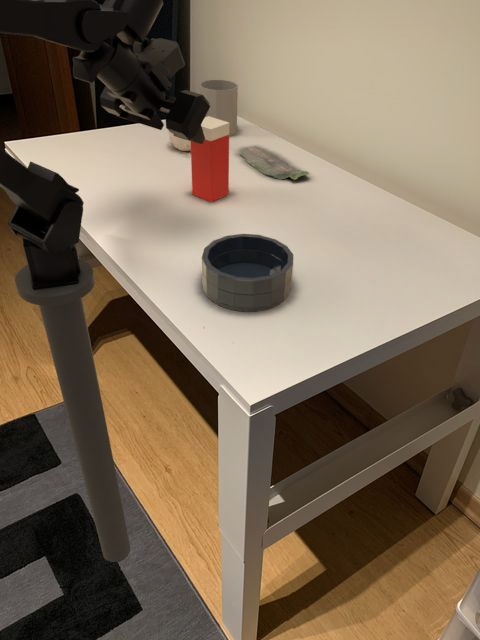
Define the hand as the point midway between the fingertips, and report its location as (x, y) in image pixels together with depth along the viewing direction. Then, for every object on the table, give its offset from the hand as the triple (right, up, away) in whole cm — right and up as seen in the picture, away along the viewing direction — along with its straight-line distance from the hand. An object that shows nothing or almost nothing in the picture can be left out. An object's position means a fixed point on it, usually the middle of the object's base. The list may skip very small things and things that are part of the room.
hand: (182, 134), depth 91 cm
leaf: (+15, +3, +25) cm, 29 cm away
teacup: (-3, +8, +29) cm, 30 cm away
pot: (+11, -26, -11) cm, 30 cm away
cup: (+3, +16, +39) cm, 42 cm away
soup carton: (+4, -6, +12) cm, 14 cm away
